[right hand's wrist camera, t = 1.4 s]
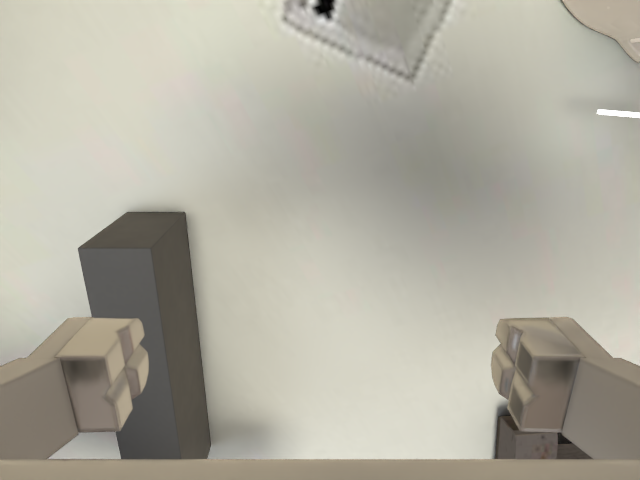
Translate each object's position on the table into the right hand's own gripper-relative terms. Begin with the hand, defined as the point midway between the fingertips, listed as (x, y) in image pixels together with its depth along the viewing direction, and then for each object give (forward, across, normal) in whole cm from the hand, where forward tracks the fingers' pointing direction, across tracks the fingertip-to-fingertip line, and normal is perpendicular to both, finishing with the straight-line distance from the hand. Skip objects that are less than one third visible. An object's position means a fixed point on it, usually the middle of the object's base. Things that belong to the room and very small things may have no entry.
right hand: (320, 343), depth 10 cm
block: (+30, -15, -20) cm, 40 cm away
